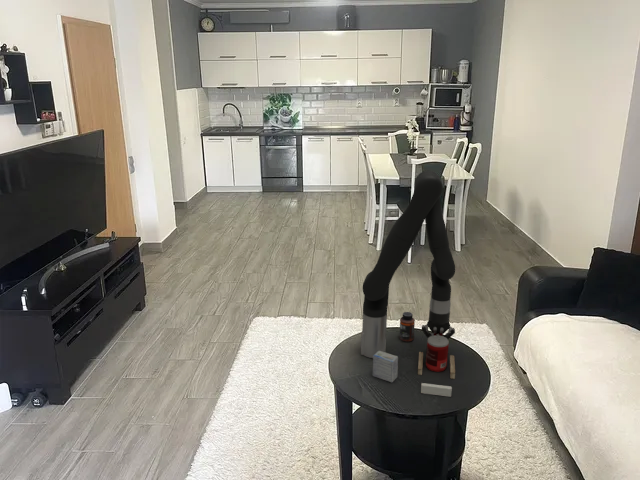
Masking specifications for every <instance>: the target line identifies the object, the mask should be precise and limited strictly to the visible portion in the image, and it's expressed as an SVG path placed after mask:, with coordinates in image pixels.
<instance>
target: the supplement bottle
mask: <svg viewBox="0 0 640 480" xmlns="http://www.w3.org/2000/svg"><path fill="white" fill-rule="evenodd" d="M415 323H416V321H415V318H414V317H413V313H412V312H411V311H404V312H403V313H402V317H400V319H399V334H398V335H399V339H400V340H401V341H403V342H412V341H413V340H414V338H415V325H416V324H415Z"/></svg>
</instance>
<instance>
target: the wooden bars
mask: <svg viewBox="0 0 640 480" xmlns="http://www.w3.org/2000/svg"><path fill="white" fill-rule="evenodd" d="M423 363H424V352H423V351H422V352H421V351H419V352H418V364H417V365H418V366H417V375H419V376H422V375H423V366H424V365H423ZM449 378H450V379H452V380H455V379H456V365H455V355H453V354H450V355H449Z"/></svg>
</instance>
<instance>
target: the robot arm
mask: <svg viewBox="0 0 640 480" xmlns="http://www.w3.org/2000/svg"><path fill="white" fill-rule="evenodd" d="M413 185H414V191H413V193H412V196H411V199H410V201H409V203H408V206H407V207H406V209H405V210H404V211H403V213H402V214H401V215H400V216H399V217H398V219H396V221H395V222H394V224H393V225H392V227H391V229H390V231H389V233H388V234H387V236H386V239H384V240H385V241H384V243H383V245H382V248H381V251H380V254H379V257H378V259H377V261H376V263H375V266H374V267H373V269H372V270H371V271H370V272H368V273H367V274H366V276H365V278H364V280H363V283H362V293H363V295H364V297H363V304H362V328H361V329H362V331H361V335H360V336H361V339H360V355H361V356H365V357H367V358H370V359H373V355H375V354H376V353H377V352H378V351H382V352H385V353H386V347H387V345H386V343H387V322H388V321H387V320H388V305H389V295H390V294H389V293H390V292H389V291H390V284H391V282H392V279H393V277H394V275H395V274H396V271H397V270H398V268H399V267H400V266H401V264H402V262H403V261H404V259H405V257H406V256H407V255H408V253H409V252H410V250H411V248H412V246H413V244H414V242H415V241H416V238H417V236H418V234H419V233H420V231H421V228H422V226H423V224H424V222H425V231H426V237H427V243H428V247H429V251H430V253H431V255H432V257H433V259H432V261H431V264H430V277H431V295H430V301H429V310H428V311H429V313H428V321H426V324H423V325H421V331H422V332H423V333H424V335H425V336H426V338H427V339H428V338H429V337H430V336H434V335H439V336H443V337H445V338H447V339H448V340H449V339H450V338H451V337H453V335H455V333H456V329H455V327H452V326H451V324H450V316H451V306H452V305H451V302H452V301H451V296H452V285H451V283H450V280H451V279H452V278H453V277H454V275H455V273H456V264H455V260H454V257H453V253H452V251H451V249H450V242H449V235H448V232H447V226H446V222H445V219H444V216H443V211H442V205H441V195H442V193H443V189H444V185H443V181H442V179H441V178H440V176H439V175H438V174H437V172H435V171H432V170H424V171H421V172H420V173H418V175H417V176H416V178H415V179H414V184H413ZM431 333H432V334H433V335H432V334H431Z"/></svg>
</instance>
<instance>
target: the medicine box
mask: <svg viewBox="0 0 640 480" xmlns="http://www.w3.org/2000/svg"><path fill="white" fill-rule="evenodd" d="M398 362H399V357H398V355H394V354H391V353H388V352H386V351H385V352H382V351H378V352H377V353H376V354H375V355H373V358H372V377H375V378H378V379H380V380H383V381H386V382H390V383H393V382H394V381H395V380H396V379H398V369H399V367H398V366H399V363H398Z"/></svg>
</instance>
